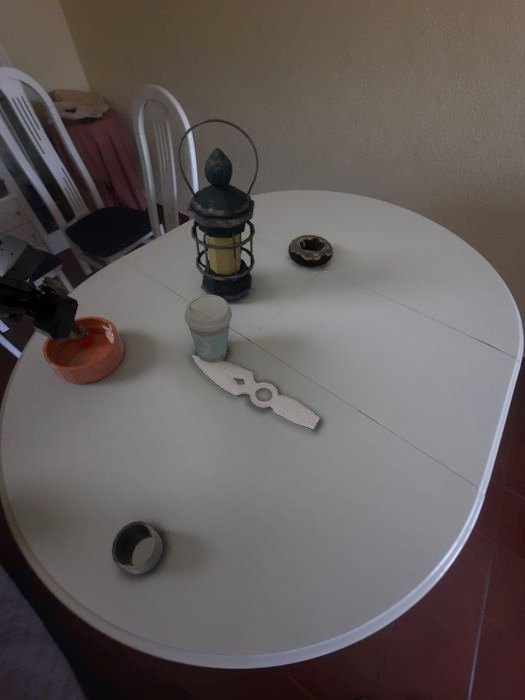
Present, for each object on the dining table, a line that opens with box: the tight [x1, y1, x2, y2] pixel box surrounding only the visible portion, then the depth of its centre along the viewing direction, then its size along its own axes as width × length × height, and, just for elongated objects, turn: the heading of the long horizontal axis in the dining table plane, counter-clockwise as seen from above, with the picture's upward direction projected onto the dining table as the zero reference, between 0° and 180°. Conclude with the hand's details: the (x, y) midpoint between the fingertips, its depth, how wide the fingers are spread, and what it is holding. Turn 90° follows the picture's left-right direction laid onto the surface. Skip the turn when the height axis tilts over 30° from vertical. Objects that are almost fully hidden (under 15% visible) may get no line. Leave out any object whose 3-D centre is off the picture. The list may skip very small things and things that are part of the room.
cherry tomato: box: [76, 332, 92, 346], centre depth 68 cm, size 3×3×3 cm
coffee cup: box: [184, 294, 233, 363], centre depth 65 cm, size 8×8×12 cm
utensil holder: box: [111, 520, 164, 575], centre depth 45 cm, size 5×5×4 cm
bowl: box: [42, 315, 125, 385], centre depth 66 cm, size 13×13×5 cm
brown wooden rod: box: [41, 275, 89, 342], centre depth 57 cm, size 3×3×13 cm
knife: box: [191, 354, 320, 430], centre depth 64 cm, size 6×28×1 cm, turn 58°
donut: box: [287, 234, 334, 269], centre depth 89 cm, size 12×12×4 cm
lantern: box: [177, 118, 259, 301], centre depth 68 cm, size 14×13×35 cm
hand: (70, 304), depth 58 cm, fingers closed on brown wooden rod
